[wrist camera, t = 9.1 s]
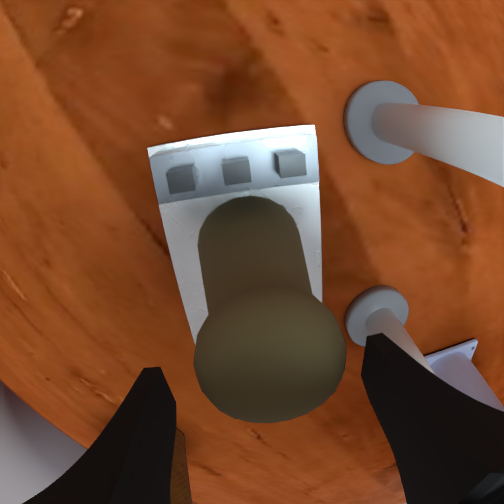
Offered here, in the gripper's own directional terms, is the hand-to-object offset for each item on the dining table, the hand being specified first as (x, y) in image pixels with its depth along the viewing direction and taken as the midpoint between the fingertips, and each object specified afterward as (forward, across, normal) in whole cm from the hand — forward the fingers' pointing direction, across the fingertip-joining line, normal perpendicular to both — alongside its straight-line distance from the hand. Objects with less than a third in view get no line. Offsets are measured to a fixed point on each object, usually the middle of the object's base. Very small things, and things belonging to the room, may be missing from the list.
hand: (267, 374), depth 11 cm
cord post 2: (+10, -9, +7) cm, 15 cm away
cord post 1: (+10, -9, -7) cm, 15 cm away
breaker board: (+10, 0, 0) cm, 10 cm away
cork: (+10, 0, 0) cm, 10 cm away
